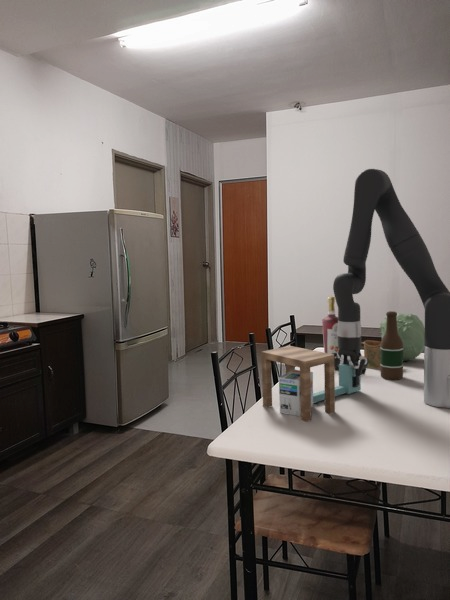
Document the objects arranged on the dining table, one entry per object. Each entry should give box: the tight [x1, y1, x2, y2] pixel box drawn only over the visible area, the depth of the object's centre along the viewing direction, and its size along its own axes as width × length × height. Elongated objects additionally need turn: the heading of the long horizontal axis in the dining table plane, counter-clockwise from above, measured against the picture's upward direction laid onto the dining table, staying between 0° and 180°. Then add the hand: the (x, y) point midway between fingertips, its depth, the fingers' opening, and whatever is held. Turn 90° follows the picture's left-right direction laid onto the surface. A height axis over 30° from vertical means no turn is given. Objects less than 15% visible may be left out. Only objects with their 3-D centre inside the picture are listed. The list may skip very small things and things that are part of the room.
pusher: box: [313, 363, 362, 404], centre depth 150 cm, size 21×4×9 cm, turn 126°
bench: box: [261, 345, 336, 422], centre depth 139 cm, size 18×12×17 cm, turn 37°
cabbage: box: [379, 312, 425, 362], centre depth 194 cm, size 16×19×20 cm
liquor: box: [321, 296, 339, 364], centre depth 188 cm, size 7×7×28 cm
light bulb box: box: [278, 369, 314, 417], centre depth 139 cm, size 11×7×11 cm, turn 148°
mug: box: [361, 339, 381, 370], centre depth 189 cm, size 12×18×12 cm, turn 54°
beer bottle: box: [379, 311, 404, 381], centre depth 169 cm, size 8×8×24 cm
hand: (349, 385), depth 154 cm, fingers closed on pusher, 4 cm apart
